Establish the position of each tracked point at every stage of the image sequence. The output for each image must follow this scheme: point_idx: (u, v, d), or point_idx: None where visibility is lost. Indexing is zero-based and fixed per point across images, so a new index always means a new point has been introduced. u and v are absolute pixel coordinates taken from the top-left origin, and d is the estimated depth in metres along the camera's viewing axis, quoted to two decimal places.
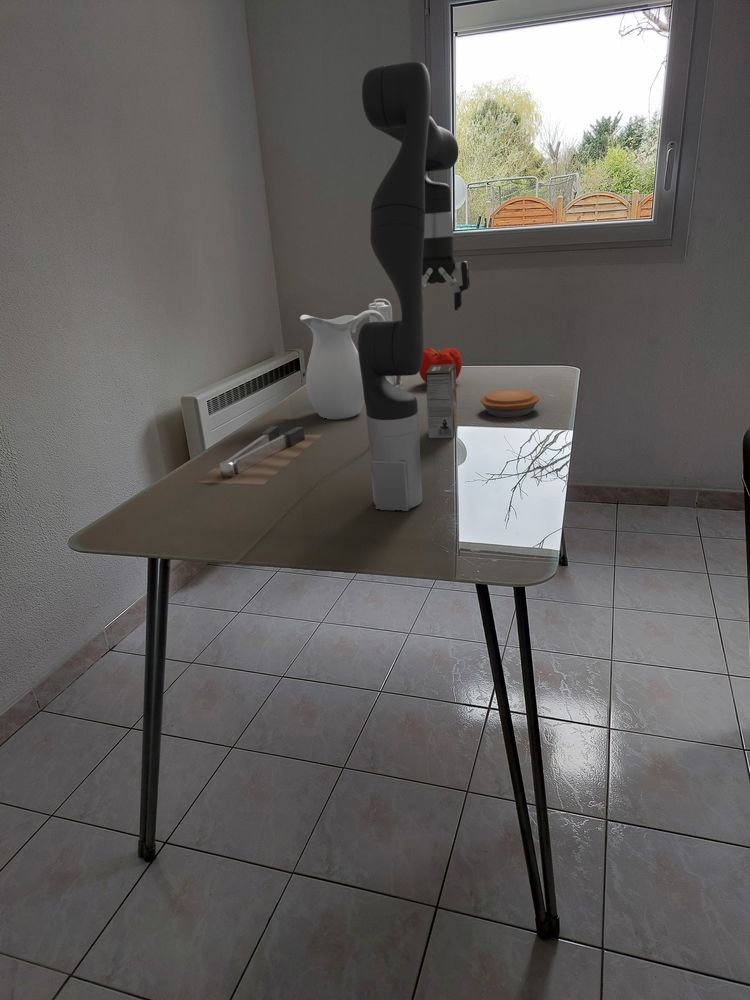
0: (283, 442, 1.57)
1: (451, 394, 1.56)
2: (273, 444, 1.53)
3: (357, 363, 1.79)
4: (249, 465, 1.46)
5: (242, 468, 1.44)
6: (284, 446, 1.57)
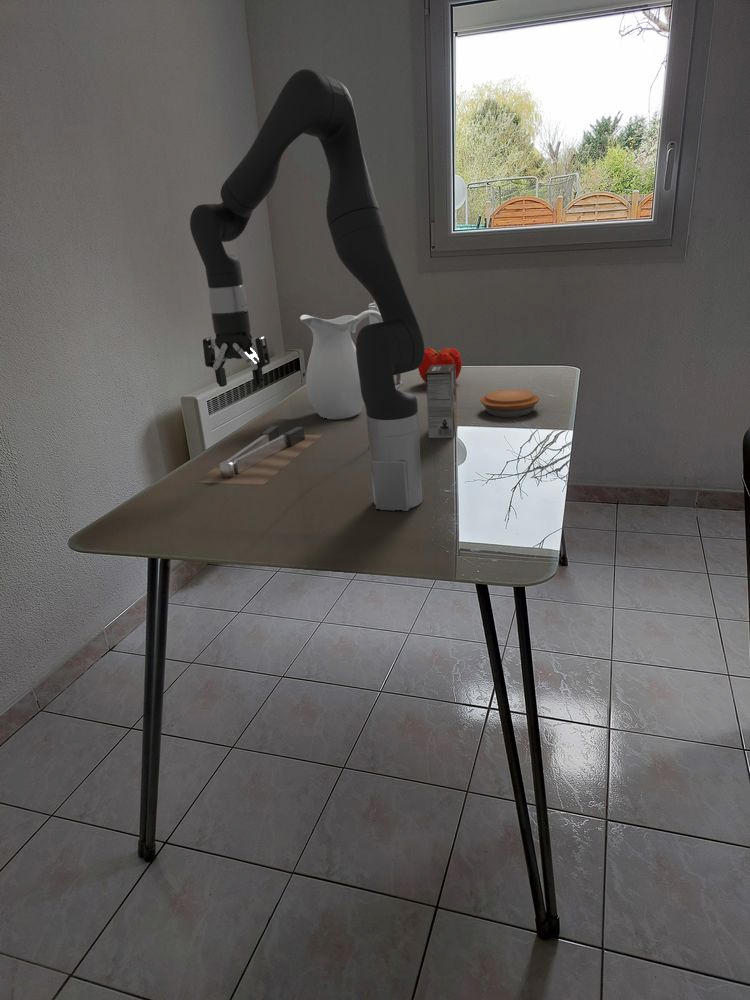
0: (283, 442, 1.57)
1: (451, 394, 1.56)
2: (273, 444, 1.53)
3: None
4: (249, 465, 1.46)
5: (242, 468, 1.44)
6: (284, 446, 1.57)
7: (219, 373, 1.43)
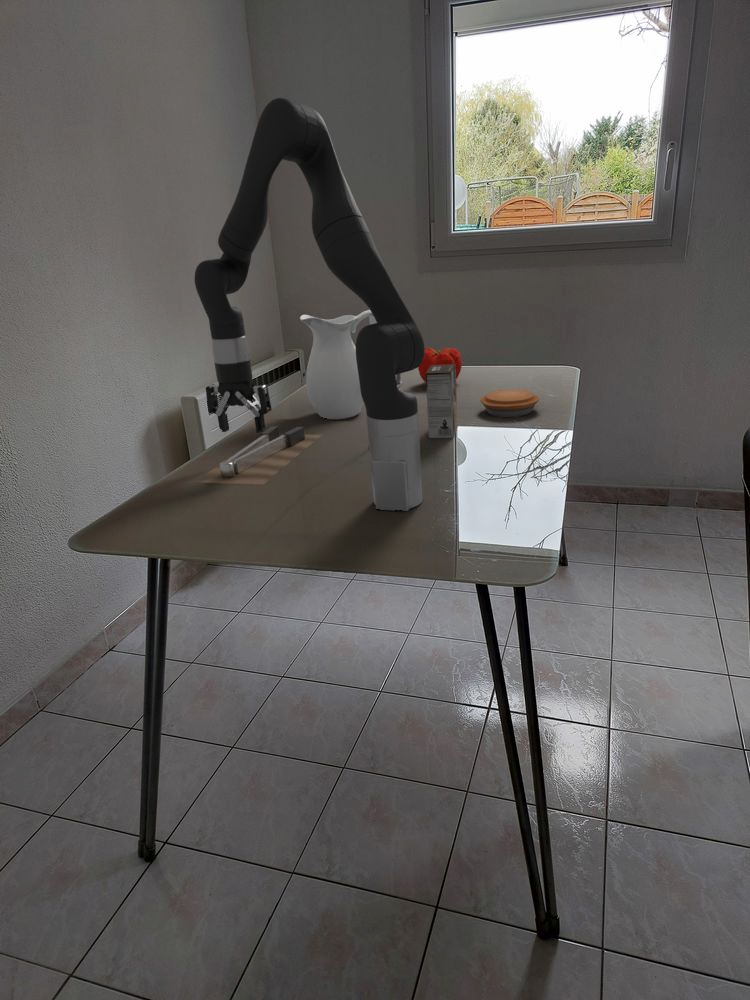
0: (283, 442, 1.57)
1: (451, 394, 1.56)
2: (273, 444, 1.53)
3: None
4: (249, 465, 1.46)
5: (242, 468, 1.44)
6: (284, 446, 1.57)
7: (222, 419, 1.47)
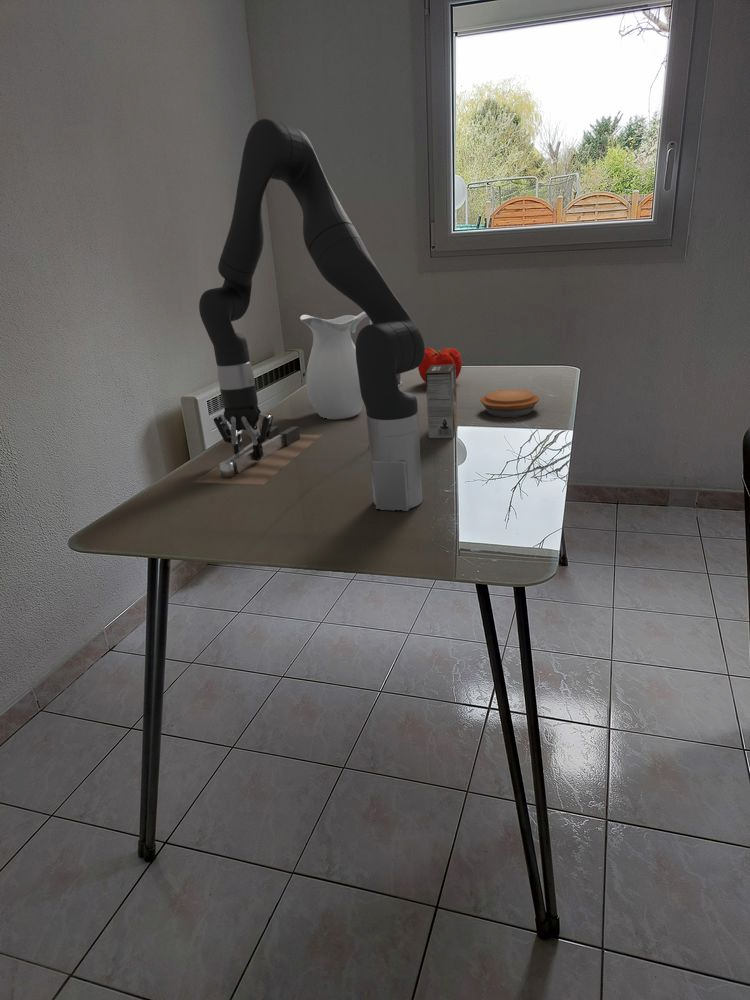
0: (280, 442, 1.57)
1: (451, 394, 1.56)
2: (270, 444, 1.54)
3: None
4: (248, 465, 1.47)
5: (241, 468, 1.44)
6: (281, 446, 1.58)
7: (237, 448, 1.48)
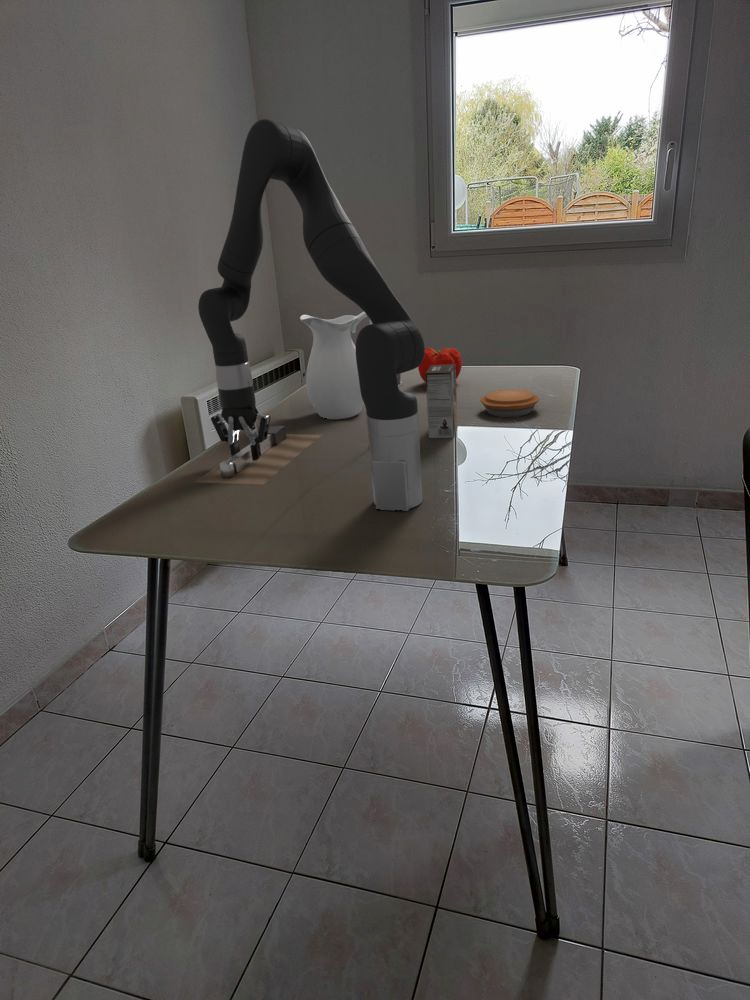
0: (269, 441, 1.58)
1: (451, 394, 1.56)
2: (262, 443, 1.54)
3: None
4: (245, 464, 1.47)
5: (240, 467, 1.45)
6: (270, 445, 1.59)
7: (234, 448, 1.48)
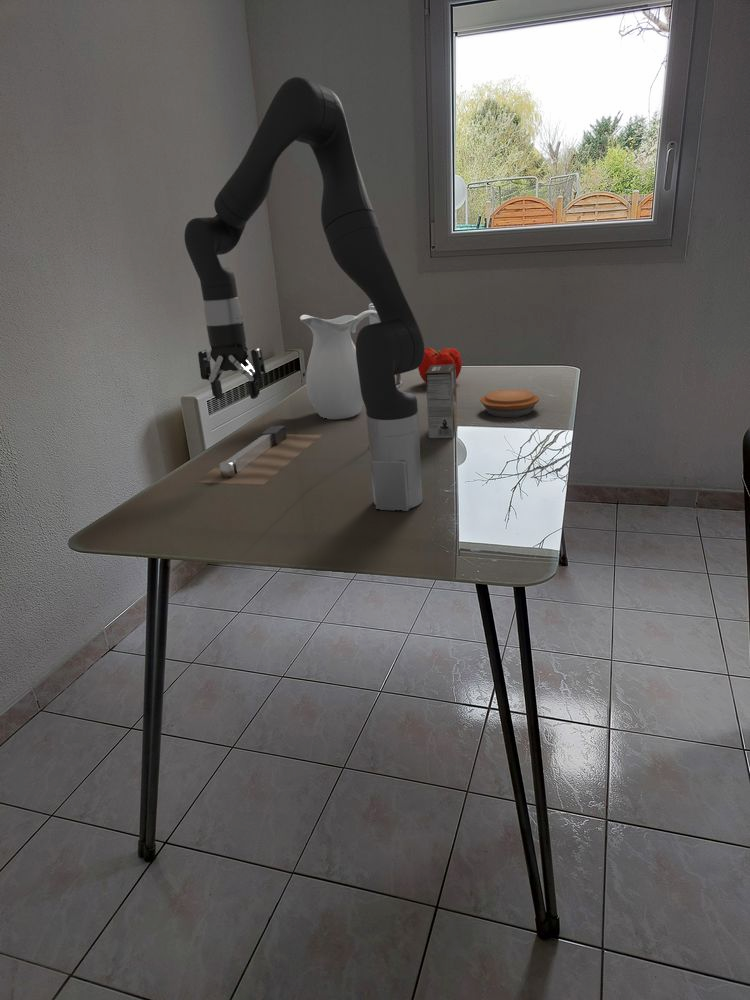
0: (269, 441, 1.58)
1: (451, 394, 1.56)
2: (262, 443, 1.54)
3: None
4: (245, 464, 1.47)
5: (240, 467, 1.45)
6: (270, 445, 1.59)
7: (215, 385, 1.43)
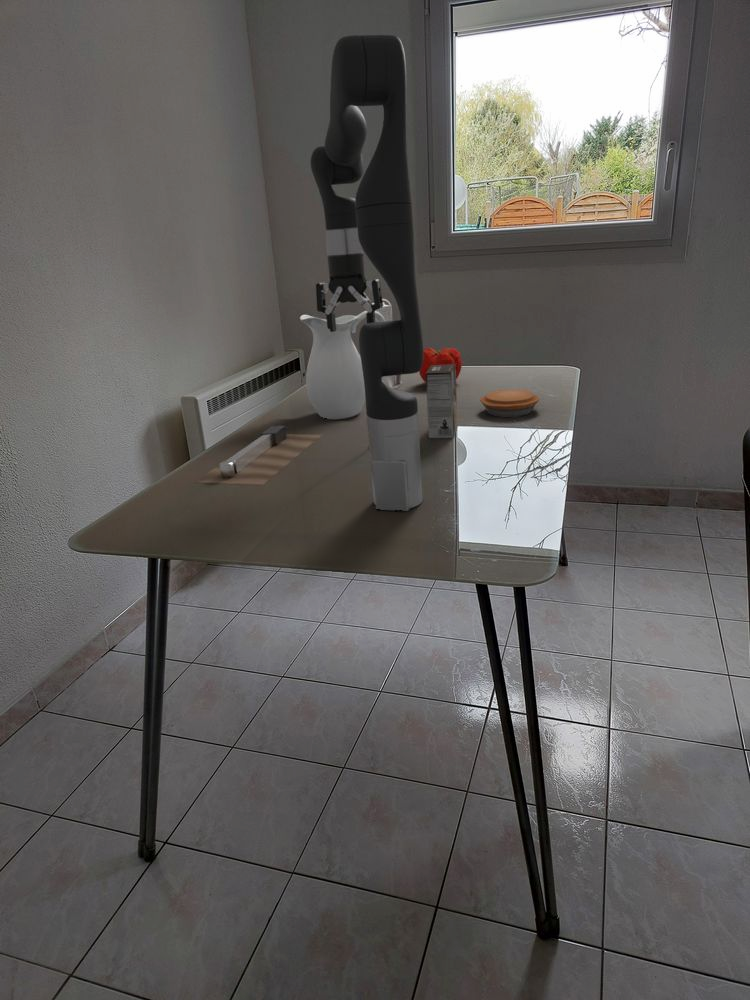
0: (269, 441, 1.58)
1: (451, 394, 1.56)
2: (262, 443, 1.54)
3: (357, 363, 1.79)
4: (245, 464, 1.47)
5: (240, 467, 1.45)
6: (270, 445, 1.59)
7: (331, 318, 1.45)
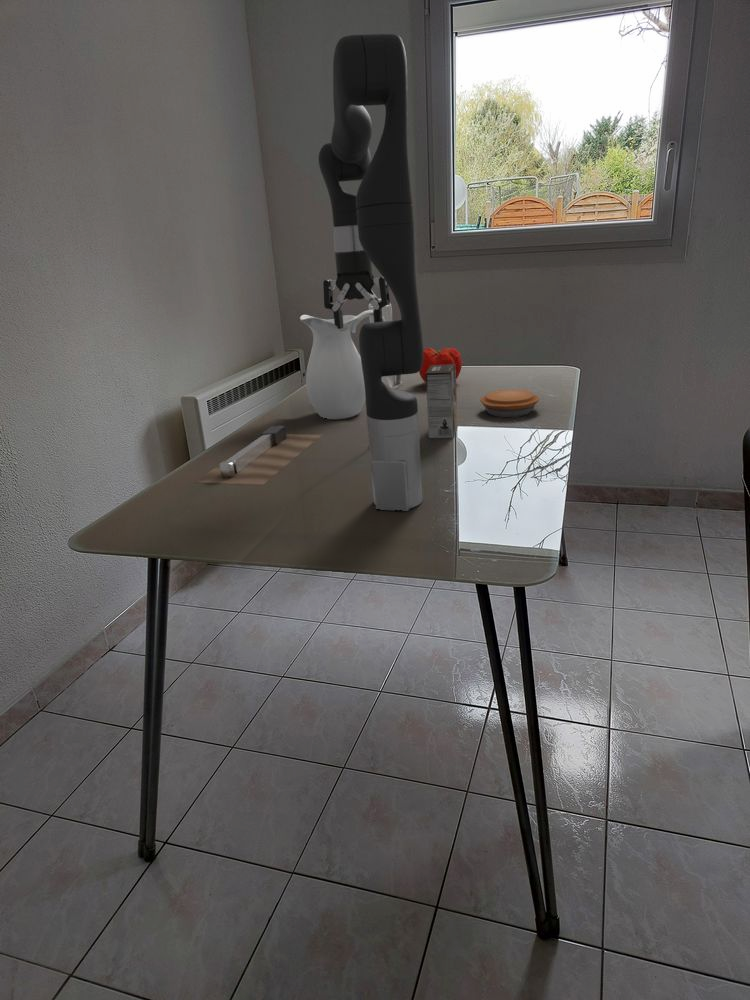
0: (269, 441, 1.58)
1: (451, 394, 1.56)
2: (262, 443, 1.54)
3: (357, 363, 1.79)
4: (245, 464, 1.47)
5: (240, 467, 1.45)
6: (270, 445, 1.59)
7: (338, 315, 1.45)
